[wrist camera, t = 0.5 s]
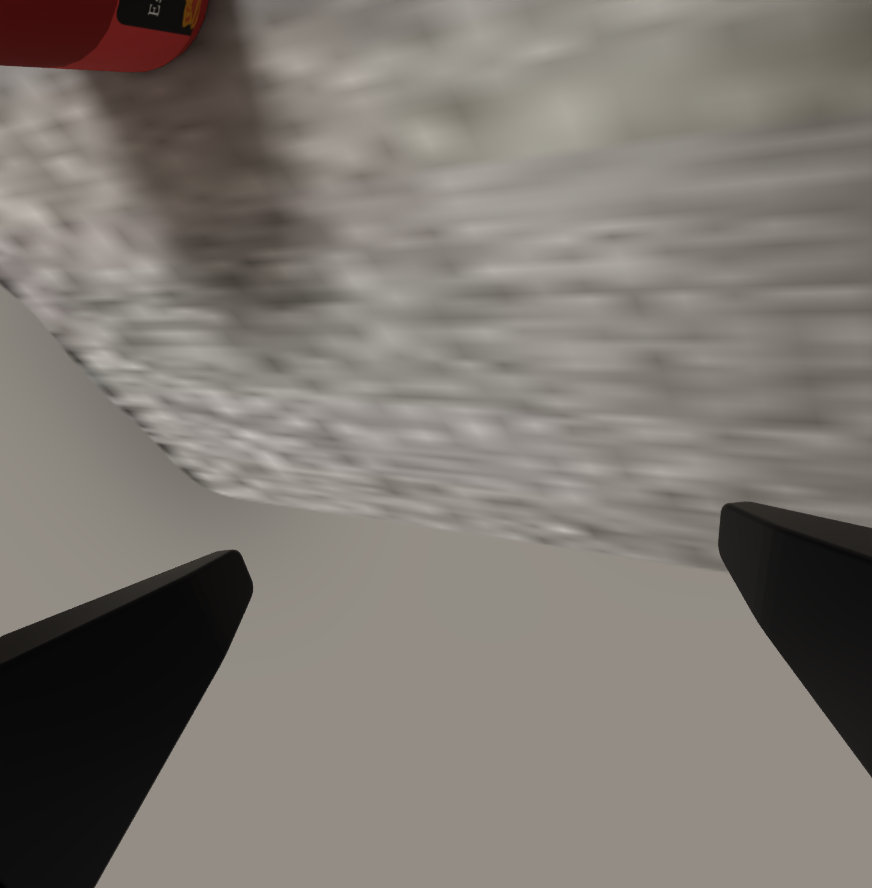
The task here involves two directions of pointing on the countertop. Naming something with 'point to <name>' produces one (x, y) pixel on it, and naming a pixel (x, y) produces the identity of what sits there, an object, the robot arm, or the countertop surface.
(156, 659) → the robot arm
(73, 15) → the canned food
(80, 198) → the countertop surface
